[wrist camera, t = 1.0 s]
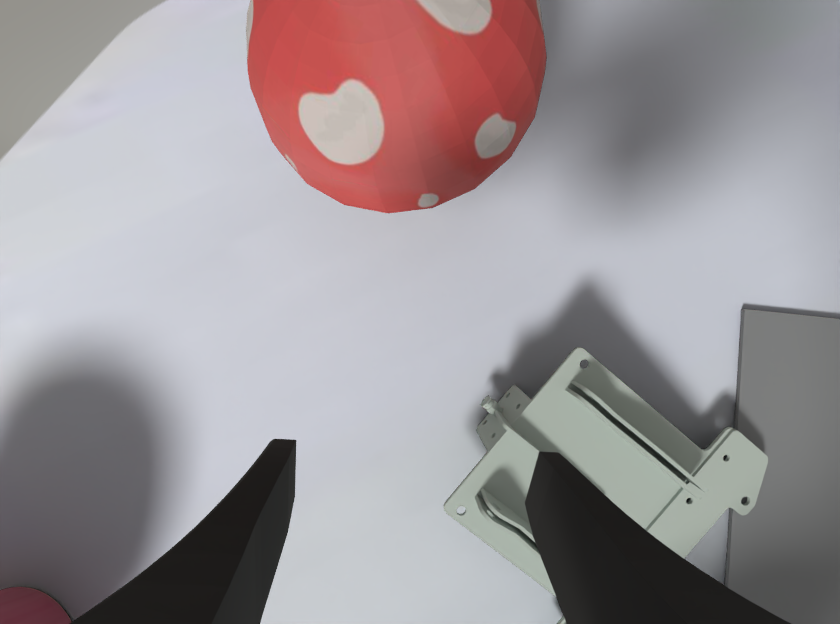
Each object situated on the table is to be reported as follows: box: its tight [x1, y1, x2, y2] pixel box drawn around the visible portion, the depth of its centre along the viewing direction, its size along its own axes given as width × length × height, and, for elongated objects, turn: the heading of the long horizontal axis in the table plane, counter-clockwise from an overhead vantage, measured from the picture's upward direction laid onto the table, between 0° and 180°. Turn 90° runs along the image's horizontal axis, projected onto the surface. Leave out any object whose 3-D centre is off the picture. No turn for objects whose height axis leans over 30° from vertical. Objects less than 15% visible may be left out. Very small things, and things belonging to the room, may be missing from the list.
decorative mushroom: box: [246, 0, 547, 213], centre depth 21 cm, size 13×13×15 cm
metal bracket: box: [444, 347, 768, 624], centre depth 24 cm, size 14×6×15 cm
